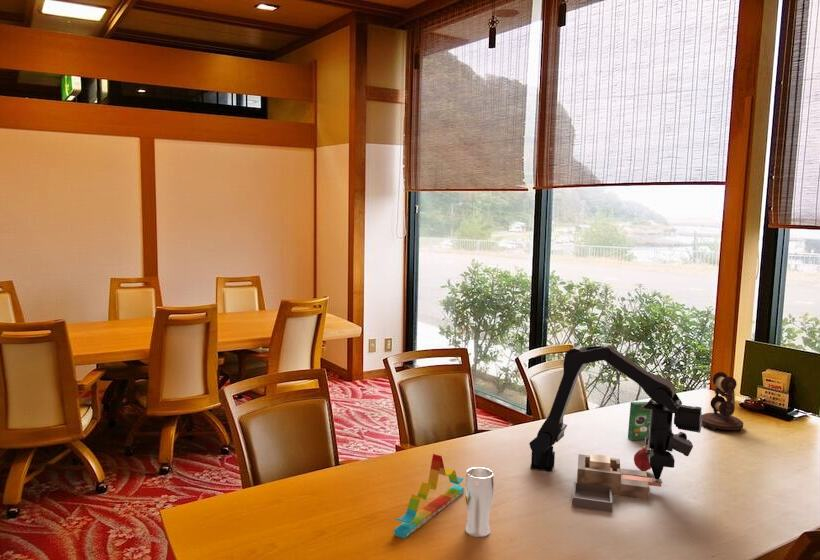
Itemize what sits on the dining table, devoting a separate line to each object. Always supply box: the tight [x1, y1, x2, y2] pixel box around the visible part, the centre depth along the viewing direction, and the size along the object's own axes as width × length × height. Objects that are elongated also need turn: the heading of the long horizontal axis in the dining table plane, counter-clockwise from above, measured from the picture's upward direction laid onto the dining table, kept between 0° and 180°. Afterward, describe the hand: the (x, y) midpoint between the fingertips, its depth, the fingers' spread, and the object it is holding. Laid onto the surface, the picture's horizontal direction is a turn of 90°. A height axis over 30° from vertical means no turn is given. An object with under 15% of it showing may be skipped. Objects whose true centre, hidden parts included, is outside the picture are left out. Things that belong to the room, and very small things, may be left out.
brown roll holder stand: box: [702, 371, 744, 432], centre depth 241 cm, size 15×15×20 cm
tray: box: [571, 481, 614, 513], centre depth 177 cm, size 10×10×3 cm
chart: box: [393, 453, 465, 539], centre depth 168 cm, size 30×3×15 cm, turn 148°
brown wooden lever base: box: [576, 453, 650, 501], centre depth 187 cm, size 19×12×6 cm, turn 74°
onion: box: [633, 445, 652, 472], centre depth 198 cm, size 6×6×8 cm
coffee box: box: [627, 401, 651, 441], centre depth 226 cm, size 8×3×13 cm, turn 103°
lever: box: [610, 467, 663, 488], centre depth 186 cm, size 20×7×2 cm, turn 74°
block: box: [589, 453, 611, 471], centre depth 187 cm, size 6×6×4 cm
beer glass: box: [464, 466, 495, 538], centre depth 159 cm, size 7×7×15 cm
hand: (656, 478), depth 183 cm, fingers closed
